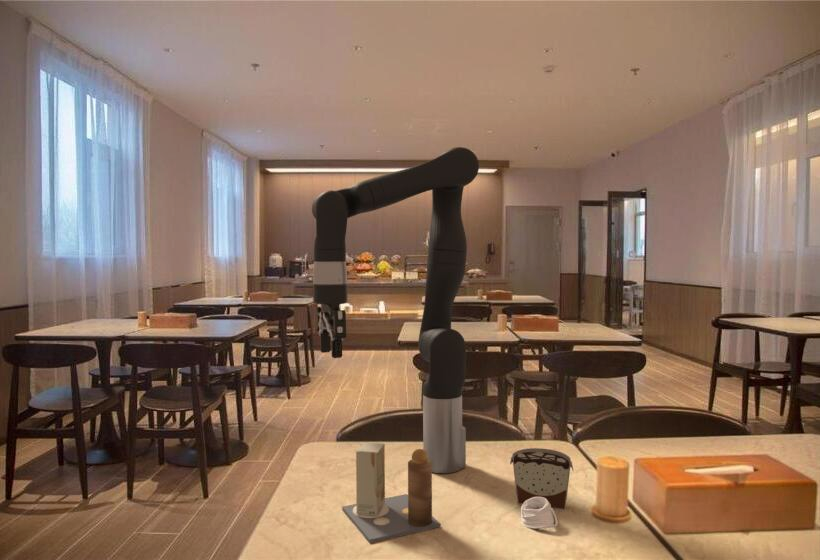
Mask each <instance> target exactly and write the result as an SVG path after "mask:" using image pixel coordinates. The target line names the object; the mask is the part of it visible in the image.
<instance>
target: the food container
mask: <svg viewBox="0 0 820 560" xmlns="http://www.w3.org/2000/svg"><path fill="white" fill-rule="evenodd" d="M509 464H510V465H512V466H513V476H514V484H515V495H516V504H517V505H521V506H522V505H523V503H524V502H525V501H526V500H528V499H530V498H532V497H544V498H546V499H547V501H549V503H550V505H551V508H552V509H553V510H559V511H566V510H567V500H568V491H569V490H568V489H569V483H570V482H569V481H570V473H571V469H572V472H574V468H573V467H574V466H573V462H572V460H571V457H570V456H569V455H567V454H566V453H563V452H561V451H558V450H555V449H550V448H540V447H539V448H537V447H534V448H532V447H531V448H524V449H519V450H516V451H514V452H513V453H512V456H511V457H510V461H509Z"/></svg>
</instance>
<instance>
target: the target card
mask: <svg viewBox="0 0 820 560" xmlns="http://www.w3.org/2000/svg"><path fill="white" fill-rule="evenodd" d="M341 509H342V512H343V513H344V514H345V515H346V516H347V518H348V519H349V520H350V522H352V524H354V526H355V528H356V529H357V530H358V531H359V532H360V533H361V534H362V536H363V537H364V538H365V540H366V541H367V542H368V543H370V544H371V543H376V542H380V541H385V540H390V539H394V538H399V537H402V536H406V535H411V534H416V533H421V532H423V531H424V532H425V531H429V530H433V529H438V528H441V527H442V525H441V522H439V520H438V519H436V518H435V517H434V516H433V515H432V523H431V524H430V525H428V526H424V527H416V526H413V525H411V524H409V522H408V493H404V494H400V495H395V496H390V497H385V504H384V506H383V508H382V510H381V512H380V513H379V514H378V516H372V515H360V514H357V504H356V503H354V504H349V505H343V506H341Z"/></svg>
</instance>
